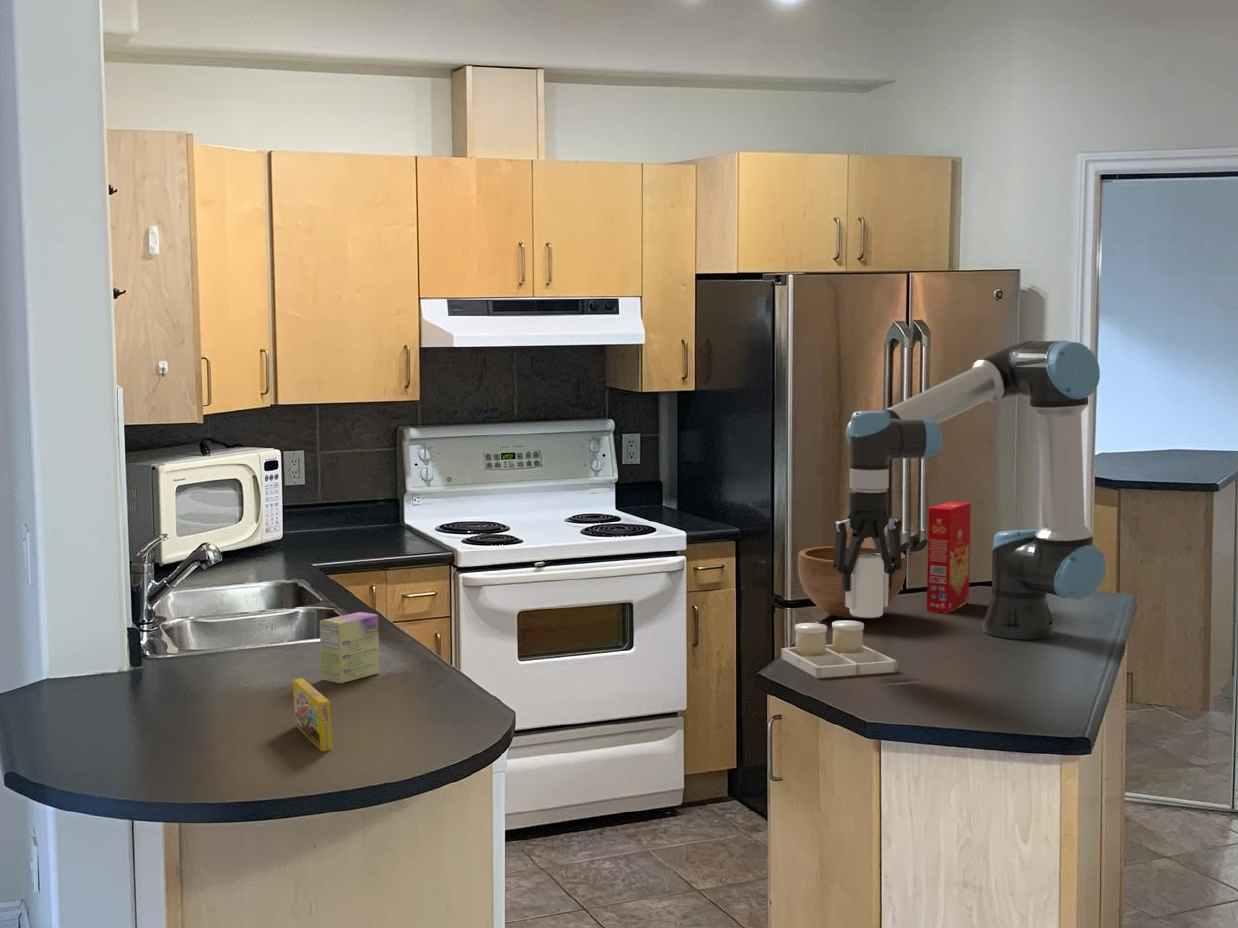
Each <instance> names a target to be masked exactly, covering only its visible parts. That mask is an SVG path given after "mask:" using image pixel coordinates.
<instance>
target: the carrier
mask: <svg viewBox="0 0 1238 928" xmlns="http://www.w3.org/2000/svg"><path fill="white" fill-rule="evenodd" d="M780 659H781V660H783V661H786V662H787V663H789V664H790V665H792V666H795V667H796V668H798V669H800V670H801V671H802V672H805V673H807V674H809V675H810V676H813V677H814V678H816V679H825V678H836V677H849V676H851V677H852V676H864V675H874V674H876V675H877V674H885V673H887V674H888V673H898V670H899V668H898V664H899V663H898V660H896V659H894V658H892V657H889V656H887V655H885V654H883V653H880V652H878V651H876V650H874V649H873V648H872V649H871V648H870V647H867V646H866V645H864V644H863V652H861V653H848V654H838V653H836V652H834V651H833V643H832V644H826V655H821V656H808V657H801V656H799V655H797V654H796V646H794V647H781V648H780Z"/></svg>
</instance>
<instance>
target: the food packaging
mask: <svg viewBox="0 0 1238 928" xmlns="http://www.w3.org/2000/svg"><path fill="white" fill-rule="evenodd" d="M971 505H972V504H971V502H961V501H960V502H958V501H948V502H944V503H941V504H938V505H933V506H930V507H929V508H928V520H927V521H928V523H927V524H928V527H927V528H928V529H927V531H928V532H927V533H928V535H927V537H928V538H927V573H926V574H927V579H926V580H927V583H926V586H927V587H926V612H928V611H938V612H946V613H948V612H950V611H951V610H953V609H955V608H957V607H958V606H960V605H961V604H963V603H964V602H966V601H968V600H969V599H970V598H969V595H970V593H969V592H970V589H969V588H970V560H971V559H970V557H971V556H970V555H971V511H972V510H971V509H972V507H971ZM946 613H945V614H946ZM948 614H949V613H948Z"/></svg>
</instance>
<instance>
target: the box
mask: <svg viewBox="0 0 1238 928" xmlns="http://www.w3.org/2000/svg"><path fill="white" fill-rule="evenodd" d="M319 632H320V633H319V636H320V637H319V639H320V677H321V678H320V680H322V681H326V682H330V683H335V684H344V683H347V682H351V681H354V680H358V679H362V678H365V677H366V678H367V677H371V676H375V675H379V674H380V644H379V643H380V642H379V640H380V639H379V637H380V636H379V635H380V634H379V632H380V631H379V615H378V614H375V613H369V612H362V611H358V612H353V613H349V614H344V615H340V616H334V617H330V618H326V619H321V620H319Z"/></svg>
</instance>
